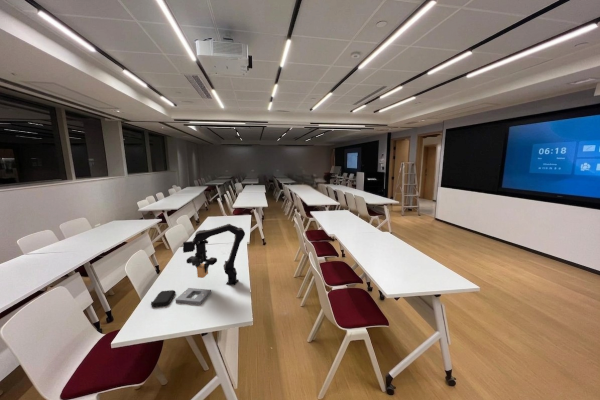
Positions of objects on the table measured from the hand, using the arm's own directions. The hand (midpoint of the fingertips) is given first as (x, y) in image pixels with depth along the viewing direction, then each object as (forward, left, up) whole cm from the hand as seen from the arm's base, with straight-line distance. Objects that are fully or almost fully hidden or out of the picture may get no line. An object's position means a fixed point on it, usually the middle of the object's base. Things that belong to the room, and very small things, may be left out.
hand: (202, 272), depth 156 cm
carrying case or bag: (+16, -17, -12) cm, 27 cm away
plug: (0, 0, -2) cm, 2 cm away
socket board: (+11, 0, -11) cm, 16 cm away
